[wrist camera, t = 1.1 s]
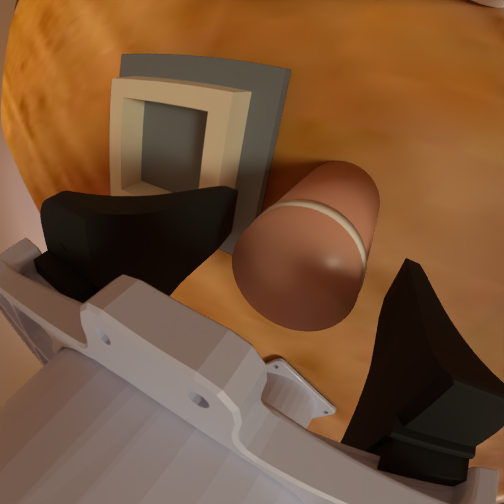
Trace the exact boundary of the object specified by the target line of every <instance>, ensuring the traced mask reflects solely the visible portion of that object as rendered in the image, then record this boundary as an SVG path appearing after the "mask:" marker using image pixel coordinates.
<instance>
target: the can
mask: <svg viewBox="0 0 504 504" xmlns="http://www.w3.org/2000/svg"><path fill="white" fill-rule="evenodd" d="M472 1H474V2H477V3H479V4H482V5H486V6H490V7H497V8H504V0H472Z"/></svg>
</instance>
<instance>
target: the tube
mask: <svg viewBox="0 0 504 504" xmlns="http://www.w3.org/2000/svg"><path fill="white" fill-rule="evenodd" d="M379 206H380V199H379V193H378V189H377V187H376V185H375V183H374V181H373V180H372V178H371V177H370V176H369V175H368V174H367V173H366V172H365V171H364V170H363V169H361V168H360V167H358V166H356V165H354V164H352V163H349V162H344V161H331V162H327V163H324V164H321V165H320V166H318V167H316V168H315V169H314V170H313V171H311V172H310V173H309V174H308V175H307V176H306V177H304V178H303V179H302V180H301V181H300V182H299V183H298V184H296V185H295V186H294V187H293V188H292V189H291V190H290V191H289V192H287V193H286V194H285V195H284V196H283V197H282V198H281V199H279V200H278V201H277V202H276V203H275V204H274V205H272V206H270V207H269V208H268V209H266V210H265V211H264V212H263V213H262V214H260V215H259V216H258V217H257V218H256V219H255V220H254V221H253V222H252V224H251V225H250V226H249V227H248V228H247V229H246V230H245V231H244V232H243V233H242V234H241V235H240V237H239V239H238V240H237V242H236V245H235V247H234V251H233V257H232V268H233V273H234V277H235V280H236V283H237V285H238V287H239V289H240V291H241V293H242V295H243V296H244V297H245V299H246V300H247V301H248V303H249V304H250V305H251V306H252V307H253V308H254V309H255V310H256V311H257V312H259V313H260V314H261V315H262V316H264V317H265V318H267V319H268V320H270V321H272V322H274V323H276V324H278V325H280V326H283V327H286V328H289V329H293V330H298V331H319V330H323V329H327V328H330V327H332V326H334V325H336V324H338V323H340V322H341V321H342V320H343V319H345V318H346V317H347V316H348V314H349V313H350V312H351V310H352V309H353V307H354V305H355V303H356V301H357V297H358V294H359V292H360V290H361V287H362V285H363V281H364V277H365V273H366V269H367V260H368V256H369V252H370V248H371V244H372V239H373V235H374V231H375V226H376V222H377V217H378V212H379Z"/></svg>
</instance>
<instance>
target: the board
mask: <svg viewBox="0 0 504 504" xmlns="http://www.w3.org/2000/svg"><path fill="white" fill-rule="evenodd" d="M290 74H291V70H290V69H285V68H280V67H275V66H269V65H264V64H258V63H252V62H245V61H238V60H230V59H222V58H213V57H202V56H190V55H172V54H122V59H121V68H120V77H119V78H112V89H111V106H110V189H111V196H147V195H160V194H168V193H174V192H182V191H188V190H194V189H200V188H207V187H214V186H228V187H231V188H233V189H236V190H239V191H238V197H237V203H236V209H235V215H234V221H233V228H232V232H231V234H230V235H229V236H228V237H227V239H226V240H225V241H224V242H223V244H222V245H221V246H220V247H219V248H218V249H220V250H222V251H224V252H226V253H229V254H231V255H233V251H234V247H235V245H236V242H237V240H238V239H239V237H240V235H241V234H242V233H243V232H244V231H245V230H246V229H247V228H248V227H249V226H250V225H251V224H252V222H253V221H254V220H255V219H256V218H257V217H258V216H259V215H260V214H261V210H262V205H263V200H264V196H265V191H266V186H267V182H268V177H269V172H270V167H271V163H272V158H273V153H274V149H275V144H276V139H277V135H278V130H279V125H280V121H281V116H282V111H283V107H284V102H285V97H286V93H287V88H288V83H289V78H290Z"/></svg>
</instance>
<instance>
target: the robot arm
mask: <svg viewBox="0 0 504 504" xmlns="http://www.w3.org/2000/svg"><path fill="white" fill-rule="evenodd" d="M238 191H239V190H236V189H233V188H231V187H228V186H214V187H207V188H200V189H194V190H188V191H182V192H174V193H168V194H160V195H147V196H104V195H93V194H85V193H78V192H71V191H62V192H60V193H58V194H56V195H54V196H52V197H50V198H48V199H46V200H45V201H44V202H43V203H42V207H41V215H40V217H41V224H42V228H43V232H44V237H45V241H46V245H47V249H48V251H46V252H44V253H43V254H42V253H41V251H40V250H39V248H38V247H37V246H35V245H34V244H33V243H32V242H31V241H30V240H29V239H27V238H25V239H23V240H21V241H20V242H18V243H16V244H15V245H13V246H12V247H10V248H8V249H7V250H5V251H4V252H2V253H1V254H0V310H1V312H2V314H3V315H4V316H5V318H6V319H7V320H8V322H9V323H10V324H11V326H12V327H13V328H14V329H15V331H16V332H17V333H18V335H19V336H20V337H21V339H22V340H23V341H24V342H25V344H26V345H27V346H28V348H29V349H30V350H31V351H32V353H33V354H34V355H35V356H36V358H37V359H38V360H39V361H40V362H41V363H42V365H43V366H44V367H43V368H41V369H40V370H39V371H38V372H37V373H36V374H35V375H34V376H33V377H32V378H30V379H29V380H28V381H27V382H26V383H25V384H24V385H23V386H22V387H21V388H20V389H19V390H18V391H17V392H16V393H14V395H12V396H11V397H10V398H9V399H8V400H7V401H6V402H5V403H4V404H3V405H2V406H1V407H0V504H495V503H496V496H497V487H498V477H499V471H498V470H495V469H489V468H483V467H471V468H468V465H469V459H472V458H474V456H475V451H476V446H477V445H479V444H480V443H482V442H483V441H485V440H486V439H488V438H489V437H491V436H492V435H494V434H495V433H496V432H497V431H499V430H500V429H501V428H502V427H503V426H504V383H503V382H502V381H501V380H500V379H499V378H498V377H497V376H496V375H494V374H493V373H492V372H491V371H490V370H489V369H488V367H487V366H486V365H485V364H484V363H483V362H482V361H481V360H480V359H479V358H478V356H477V355H476V354H475V353H474V352H473V350H472V349H471V348H470V347H469V345H468V344H467V343H466V342H465V340H464V339H463V338H462V336H461V335H460V333H459V332H458V330H457V329H456V327H455V326H454V324H453V323H452V322H451V320H450V318H449V317H448V315H447V313H446V312H445V310H444V308H443V306H442V305H441V303H440V301H439V299H438V297H437V295H436V294H435V292H434V290H433V288H432V286H431V284H430V282H429V280H428V278H427V276H426V274H425V272H424V270H423V269H422V267H421V266H420V264H418V263H416V262H414V261H412V260H409V259H407V258H406V259H405V261H404V263H403V265H402V266H401V268H400V270H399V272H398V274H397V276H396V278H395V279H394V281H393V283H392V285H391V287H390V288H389V290H388V292H387V294H386V296H385V297H384V301H383V305H382V308H381V312H380V315H379V320H378V326H377V332H376V338H375V344H374V350H373V356H372V361H371V366H370V370H369V373H368V376H367V379H366V382H365V385H364V388H363V391H362V394H361V396H360V399H359V402H358V404H357V407H356V409H355V412H354V414H353V417H352V419H351V421H350V423H349V426H348V428H347V430H346V432H345V434H344V437H343V439H342V441H341V443H339V442H337V441H334V440H331V439H329V438H326V437H323V436H321V435H318V434H316V433H313V432H311V431H309V430H308V429H307V428H308V425H309V423H310V421H311V419H312V418H317V417H322V416H326V415H331V414H334V413H335V411H336V408H335V407H334V406H333V405H332V404H331V403H330V402H328V401H327V400H326V399H325V398H324V397H323V396H322V395H321V394H320V393H319V392H318V391H317V390H315V389H314V388H313V387H312V386H311V385H310V384H309V383H308V382H307V381H306V380H305V379H304V378H303V377H302V376H301V375H300V374H299V373H297V372H296V371H295V370H294V369H293V368H292V367H291V366H290V365H289V364H288V363H287V362H286V361H285V360H284V359H282V358H277V359H274V360H272V361H269V362H267V363H265V362H264V361H263V359H262V358H261V357H260V355H259V354H258V352H257V351H256V350H255V348H254V347H253V345H252V344H251V343H249V342H248V341H247V340H245V339H244V338H242V337H241V336H240V335H238V334H237V333H235V332H234V331H233V330H231V329H229V328H227V327H225V326H223V325H222V324H220V323H218V322H216V321H214V320H212V319H210V318H208V317H206V316H204V315H203V314H201V313H199V312H197V311H195V310H193V309H191V308H190V307H188V306H186V305H184V304H182V303H180V302H179V301H177V300H175V299H173V298H171V297H170V295H171V294H172V293H173V291H174V290H175V289H176V288H177V287H178V286H179V284H180V283H181V282H182V281H183V280H184V279H185V278H186V277H187V276H188V275H190V274H191V273H192V272H193V271H194V270H195V269H196V268H197V267H198V266H200V265H201V264H202V263H203V262H204V261H205V260H206V259H207V258H208V257H210V256H211V255H212V254H213V253H214V252H215V251H216V250H217V249H218V248H219V247H220V246H221V245H222V244H223V242H224V241H225V240H226V239H227V237H228V236H229V235H230V234H231V232H232V228H233V221H234V215H235V209H236V203H237V197H238Z"/></svg>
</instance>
